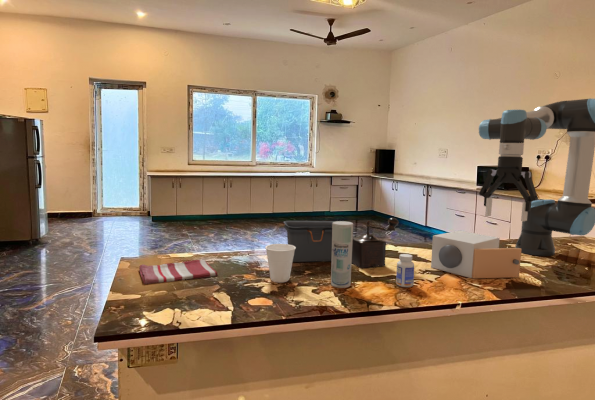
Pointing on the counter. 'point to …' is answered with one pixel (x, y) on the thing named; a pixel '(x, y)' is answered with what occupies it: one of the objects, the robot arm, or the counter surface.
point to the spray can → (341, 254)
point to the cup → (280, 261)
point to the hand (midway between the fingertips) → (505, 218)
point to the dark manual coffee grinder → (371, 247)
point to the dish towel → (176, 271)
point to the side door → (496, 263)
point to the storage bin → (310, 240)
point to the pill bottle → (405, 271)
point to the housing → (459, 251)
